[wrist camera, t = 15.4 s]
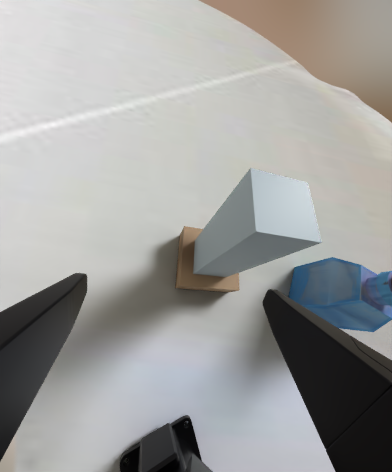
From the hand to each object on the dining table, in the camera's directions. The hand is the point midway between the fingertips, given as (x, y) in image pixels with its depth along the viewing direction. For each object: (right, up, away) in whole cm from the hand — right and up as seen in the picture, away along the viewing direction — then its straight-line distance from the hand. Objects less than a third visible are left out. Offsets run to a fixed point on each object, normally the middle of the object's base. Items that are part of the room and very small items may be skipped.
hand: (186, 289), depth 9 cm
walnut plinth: (+2, -1, +15) cm, 15 cm away
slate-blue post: (+2, 0, +12) cm, 13 cm away
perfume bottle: (+17, -6, +18) cm, 26 cm away
